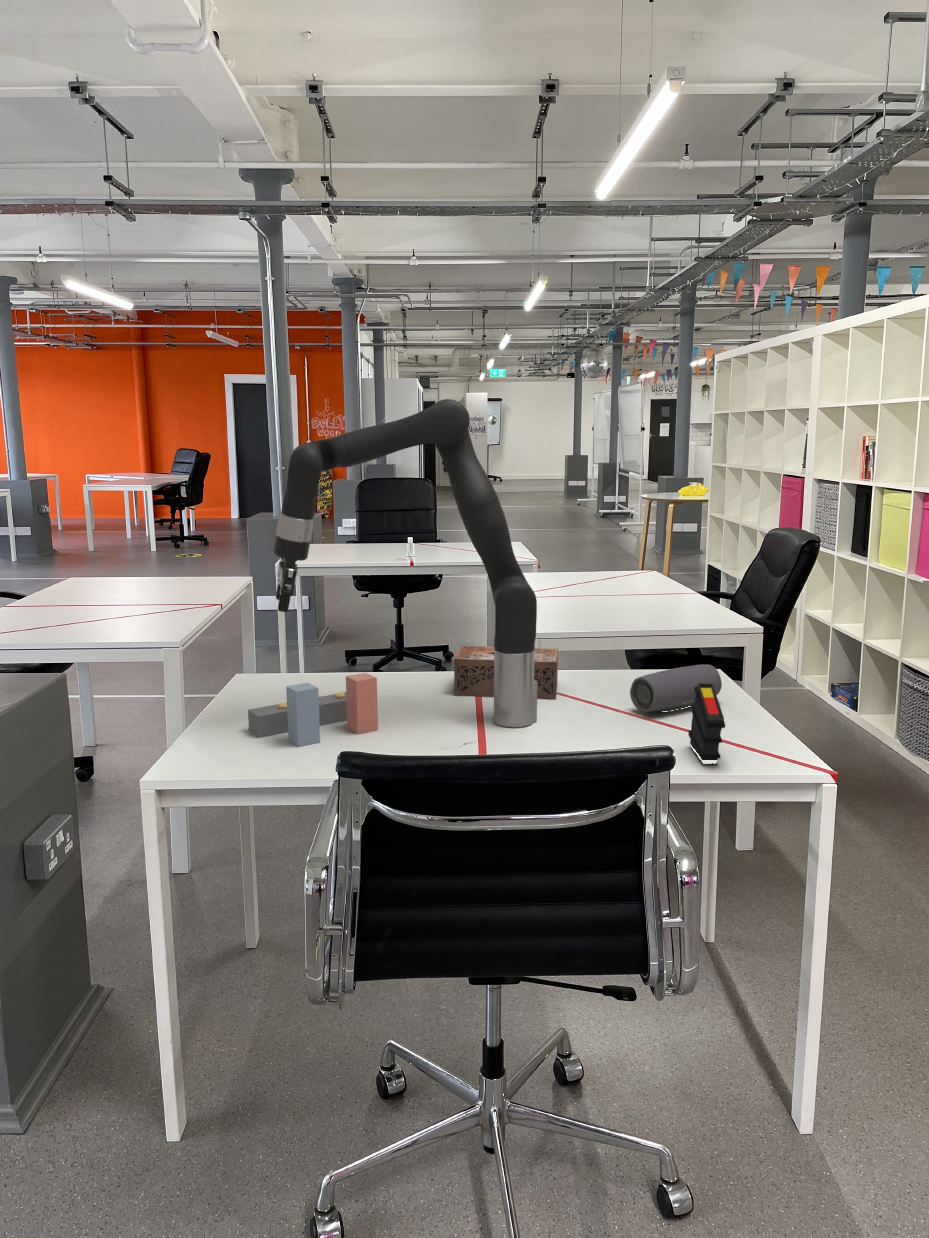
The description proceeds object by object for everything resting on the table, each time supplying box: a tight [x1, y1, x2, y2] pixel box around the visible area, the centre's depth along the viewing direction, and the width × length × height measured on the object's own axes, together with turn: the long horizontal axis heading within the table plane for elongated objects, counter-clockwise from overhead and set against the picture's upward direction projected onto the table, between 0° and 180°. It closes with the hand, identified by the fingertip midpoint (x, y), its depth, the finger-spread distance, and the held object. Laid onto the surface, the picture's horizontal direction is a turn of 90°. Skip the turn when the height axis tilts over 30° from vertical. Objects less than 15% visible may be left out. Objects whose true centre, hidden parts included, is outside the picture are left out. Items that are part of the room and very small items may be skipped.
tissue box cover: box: [453, 645, 559, 700], centre depth 231 cm, size 26×14×10 cm, turn 83°
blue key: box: [285, 682, 321, 748], centre depth 188 cm, size 5×5×12 cm
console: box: [247, 691, 347, 739], centre depth 196 cm, size 28×19×7 cm
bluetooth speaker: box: [629, 664, 723, 713], centre depth 216 cm, size 23×9×10 cm, turn 123°
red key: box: [345, 672, 379, 735], centre depth 196 cm, size 5×5×12 cm
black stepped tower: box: [688, 683, 726, 761], centre depth 183 cm, size 4×13×15 cm, turn 0°
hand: (281, 605), depth 199 cm, fingers open, 8 cm apart
